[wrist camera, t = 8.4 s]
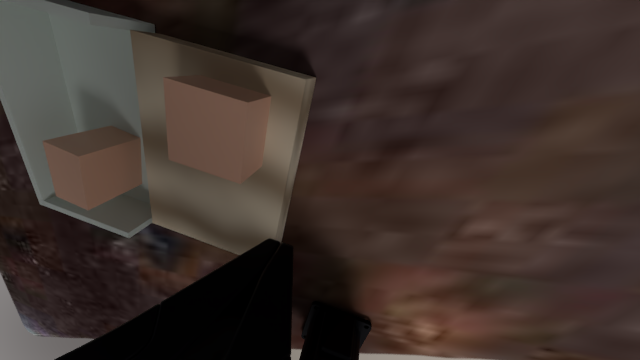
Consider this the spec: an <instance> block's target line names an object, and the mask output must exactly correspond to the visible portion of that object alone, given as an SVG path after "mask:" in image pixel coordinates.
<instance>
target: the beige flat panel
mask: <svg viewBox="0 0 640 360" xmlns="http://www.w3.org/2000/svg"><path fill="white" fill-rule="evenodd" d="M130 34H131V43H132V52H133V60H134V69H135V77H136V86H137V94H138V103H139V112H140V120H141V129H142V137H143V146H144V154H145V163H146V172H147V180H148V189H149V197H150V206H151V214H152V223H154V224H157V225H160V226H163V227H165V228H168V229H171V230H173V231H176V232H179V233H181V234H184V235H187V236H189V237H192V238H195V239H198V240H200V241H203V242H206V243H208V244H211V245H214V246H216V247H219V248H222V249H225V250H227V251H230V252H233V253H235V254H238V255H241V254H243V253H244V252H246V251H248V250H249V249H251V248H253V247H255V246H256V245H258V244H260V243H261V242H263V241H265V240H266V239H268V238H271V239H274V240H277V241H280V243H281V242H282V237H283V232H284V228H285V223H286V218H287V214H288V209H289V204H290V199H291V195H292V190H293V185H294V181H295V176H296V171H297V166H298V162H299V157H300V152H301V147H302V143H303V138H304V133H305V129H306V124H307V119H308V114H309V110H310V105H311V100H312V96H313V91H314V86H315V81H316V77H312V76H309V75H305V74H302V73H298V72H294V71H291V70H287V69H284V68H280V67H277V66H273V65H270V64H266V63H263V62H259V61H255V60H252V59H248V58H245V57H241V56H238V55H234V54H231V53H227V52H223V51H220V50H216V49H213V48H209V47H206V46H202V45H199V44H195V43H192V42H188V41H184V40H181V39H177V38H174V37H170V36H167V35H163V34H158V33H151V32H143V31H136V30H130ZM192 75H202V76H205V77H208V78H212V79H215V80H218V81H222V82H225V83H229V84H232V85H235V86H239V87H242V88H246V89H249V90H252V91H256V92H259V93H262V94H266V95H269V96H271V102H270V110H269V117H268V124H267V132H266V139H265V147H264V154H263V162H262V167H260V168H259V169H258V170H257V171H256V172H254V173H253V174H252V175H251V176H250V177H248V178H247V179H246V180H245V181H244V182H242V183H241V184H239V183H236V182H233V181H230V180H227V179H224V178H221V177H218V176H215V175H212V174H209V173H206V172H203V171H200V170H197V169H194V168H191V167H188V166H186V165H183V164H180V163H177V162H174V161H171V160H169V157H168V142H167V127H166V112H165V97H164V82H163V77H174V76H192Z"/></svg>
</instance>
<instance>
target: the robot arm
mask: <svg viewBox="0 0 640 360" xmlns="http://www.w3.org/2000/svg"><path fill="white" fill-rule="evenodd" d="M292 286H293V246H291V245H289V244H286V243H280V241H277V240H274V239H271V238H268V239H266V240H265V241H263V242H261V243H260V244H258V245H256V246H255V247H253V248H251V249H249V250H248V251H246V252H244V253H243V254H241V255H239V256H238V257H236V258H234V259H233V260H231V261H229V262H228V263H226V264H224V265H223V266H221V267H219V268H218V269H216V270H214V271H212V272H211V273H209V274H207V275H206V276H204V277H202V278H201V279H199V280H197V281H196V282H194V283H192V284H191V285H189V286H187V287H186V288H184V289H182V290H181V291H179V292H177V293H175V294H174V295H172V296H170V297H169V298H167V299H165V300H164V301H162V302H161V304H157V305H155V306H153V307H152V308H150V309H148V310H147V311H145V312H143V313H142V314H140V315H138V316H136V317H135V318H133V319H131V320H129V321H128V322H126V323H124V324H122V325H120V326H119V327H117V328H115V329H113V330H111V331H109V332H108V333H106V334H104V335H102V336H100V337H98V338H96V339H94V340H92V341H90V342H88V343H86V344H85V345H83V346H81V347H79V348H77V349H75V350H73V351H71V352H69V353H67V354H65V355H63V356H61V357H59V358H57V359H55V360H291V357H290V355H291V328H292ZM370 330H371V322H370V321H368V320H365V319H362V318H360V317H357V316H354V315H352V314H349V313H347V312H344V311H341V310H339V309H336V308H333V307H331V306H328V305H325V304H323V303H320V302H317V301H314V302H313V303H312V306H311V309H310V312H309V315H308V318H307V320H306V323H305V326H304V329H303V332H302V335H301V336H302V338H303V339H305V341H304V345H303V348H302V352H301V356H300V359H299V360H359V349H360V347H361V346H362V344H363V342H364V340H365V339H366V337H367V335H368V333H369V332H370Z"/></svg>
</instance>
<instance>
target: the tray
mask: <svg viewBox="0 0 640 360" xmlns="http://www.w3.org/2000/svg"><path fill="white" fill-rule="evenodd" d="M130 30H136V31H143V32H151V33H155V24H151V23H148V22H144V21H141V20H137V19H133V18H130V17H126V16H123V15H119V14H115V13H112V12H108V11H105V10H101V9H97V8H94V7H90V6H87V5H83V4H79V3H76V2H72V1H69V0H0V99H1V102H2V105H3V107H4V110H5V113H6V115H7V118H8V121H9V123H10V126H11V129H12V131H13V134H14V137H15V139H16V142H17V145H18V147H19V150H20V153H21V155H22V158H23V160H24V163H25V166H26V168H27V171H28V174H29V176H30V179H31V182H32V184H33V187H34V190H35V192H36V195H37V198H38V200H39V203H40V204H41V205H44V206H46V207H49V208H51V209H54V210H57V211H59V212H62V213H65V214H67V215H70V216H72V217H75V218H78V219H80V220H83V221H85V222H88V223H91V224H93V225H96V226H99V227H101V228H104V229H106V230H109V231H112V232H114V233H117V234H119V235H122V236H125V237H127V238H130V237H132V236H133V235H135V234H136V233H138V232H139V231H140V230H142V229H143V228H145V227H146V226H148V225H149V224H151V223H152V214H151V206H150V197H149V189H148V180H147V172H146V163H145V154H144V146H143V137H142V129H141V120H140V112H139V103H138V94H137V86H136V77H135V69H134V60H133V52H132V43H131V34H130ZM106 126H113V127H116V128H118V129H121V130H123V131H125V132H128V133H130V134H132V135H135V136H137V137H139V138H140V139H141V166H142V184H141V185H139V186H137V187H135V188H133V189H131V190H129V191H127V192H125V193H123V194H121V195H119V196H117V197H115V198H113V199H111V200H109V201H107V202H105V203H103V204H101V205H98V206H96V207H94V208H92V209H90V210H86V209H83V208H81V207H79V206H77V205H75V204H72V203H70V202H68V201H66V200H63V199H61V198H59V197H57V196H56V194H55V190H54V186H53V182H52V178H51V174H50V170H49V166H48V162H47V158H46V154H45V150H44V146H43V142H42V141H44V140H48V139H53V138H57V137H62V136H66V135H71V134H75V133H79V132H84V131H88V130H93V129H97V128H102V127H106Z"/></svg>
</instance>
